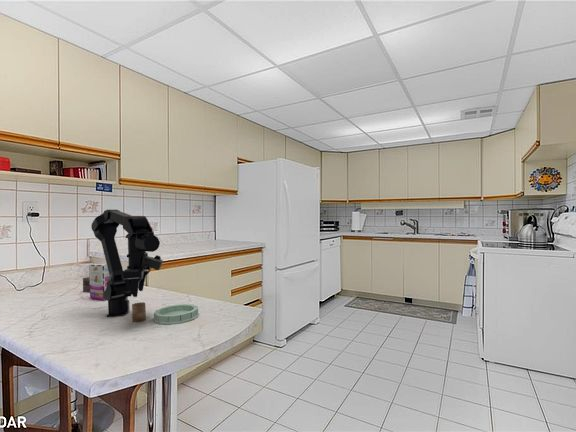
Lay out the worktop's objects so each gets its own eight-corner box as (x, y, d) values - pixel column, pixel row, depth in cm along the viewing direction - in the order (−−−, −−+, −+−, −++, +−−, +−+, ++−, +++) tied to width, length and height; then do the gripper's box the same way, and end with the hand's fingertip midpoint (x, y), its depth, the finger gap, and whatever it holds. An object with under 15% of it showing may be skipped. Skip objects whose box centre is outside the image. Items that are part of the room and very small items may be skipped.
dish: (151, 326, 108) (150, 318, 108) (158, 313, 122) (158, 306, 122) (197, 321, 111) (196, 313, 111) (198, 309, 126) (198, 302, 126)
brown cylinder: (131, 323, 112) (130, 306, 112) (134, 319, 116) (133, 303, 116) (144, 321, 113) (143, 305, 113) (147, 318, 117) (146, 301, 117)
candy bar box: (114, 298, 149) (113, 263, 149) (104, 301, 145) (102, 265, 145) (99, 296, 155) (98, 262, 155) (89, 299, 150) (88, 264, 150)
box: (82, 292, 166) (82, 278, 166) (92, 289, 171) (92, 276, 172) (91, 292, 164) (91, 278, 164) (101, 290, 170) (101, 276, 170)
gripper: (156, 252, 108) (157, 298, 108) (164, 247, 126) (165, 286, 126) (120, 254, 105) (121, 301, 105) (133, 248, 123) (135, 288, 123)
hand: (138, 293), depth 115 cm, fingers open, 9 cm apart
